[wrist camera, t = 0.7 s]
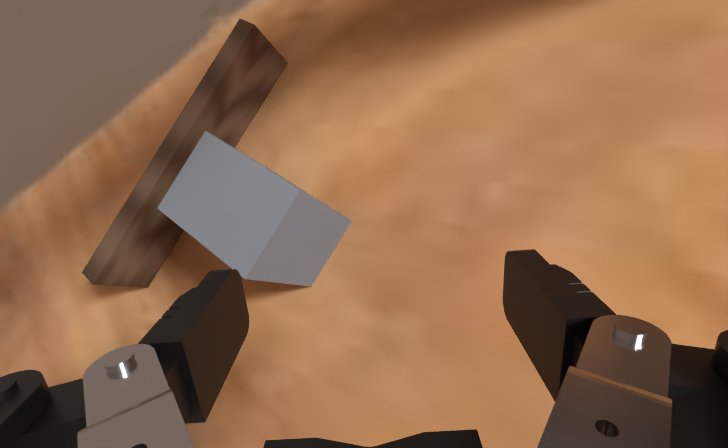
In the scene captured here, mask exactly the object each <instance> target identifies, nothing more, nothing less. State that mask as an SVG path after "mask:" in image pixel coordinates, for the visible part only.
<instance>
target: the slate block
mask: <svg viewBox="0 0 728 448" xmlns="http://www.w3.org/2000/svg"><path fill="white" fill-rule="evenodd" d="M157 209H159V210H160V211H161V212H162V213H164V214H165V215H166V216H167V217H169V218H170V219H171V220H172V221H174V222H175V223H176V224H177V225H178V226H180V227H181V228H182V229H183V230H185V231H186V232H187V233H188V234H190V235H191V236H192V237H193V238H195V239H196V240H197V241H198V242H200V243H201V244H202V245H203V246H204V247H206V248H207V249H208V250H209V251H211V252H212V253H213V254H214V255H216V256H217V257H218V258H219V259H221V260H222V261H223V262H224V263H225V264H227V265H228V266H229V267H230V268H232V269H236V270H238V272H239V273H240V276H242V277H243V278H244V279H248V280H257V281H266V282H275V283H284V284H293V285H302V286H312V284H313V283H314V281H315V280H316V278H317V276H318V275H319V273H320V272H321V270H322V268H323V267H324V265H325V264H326V262H327V260H328V259H329V257H330V256H331V254H332V252H333V251H334V249H335V248H336V246H337V244H338V243H339V241H340V239H341V238H342V236H343V235H344V233H345V231H346V230H347V228H348V227H349V225H350V223H351V222H352V221H351V220H350V219H348V218H347V217H345V216H343V215H342V214H340V213H339V212H337V211H335V210H334V209H332V208H331V207H329V206H328V205H326V204H324V203H323V202H321V201H320V200H318V199H316V198H315V197H313V196H312V195H310V194H308V193H307V192H305V191H304V190H302V189H300V188H299V187H297V186H296V185H294V184H293V183H291V182H289V181H288V180H286V179H285V178H283V177H281V176H280V175H278V174H277V173H275V172H273V171H272V170H270V169H268V168H267V167H265V166H263V165H262V164H260V163H258V162H257V161H255V160H253V159H252V158H250V157H248V156H247V155H245V154H243V153H242V152H240V151H238V150H237V149H235V148H234V147H232V146H230V145H229V144H227V143H225V142H224V141H222V140H220V139H219V138H217V137H215V136H214V135H212V134H210V133H209V132H207V131H205V132H204V134H203V135H202V137H201V139H200V140H199V142H198V143H197V145H196V147H195V148H194V150H193V151H192V153H191V155H190V156H189V158H188V159H187V161H186V163H185V164H184V166H183V167H182V169H181V171H180V172H179V174H178V176H177V177H176V179H175V180H174V182H173V184H172V185H171V187H170V188H169V190H168V192H167V193H166V195H165V196H164V198H163V200H162V201H161V203H160V205H159V206H158V208H157Z"/></svg>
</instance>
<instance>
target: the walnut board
mask: <svg viewBox="0 0 728 448" xmlns="http://www.w3.org/2000/svg"><path fill="white" fill-rule="evenodd" d="M286 64H287V62H286V61H285V60H284V58H283V57H282V56H281V55H280V54H279V53H278V51H277V50H276V49H275V48H274V47H273V46H272V45H271V43H270V42H269V41H268V40H267V39H266V38H265V36H264V35H263V34H262V33H261V32H260V31H259V29H258V28H257V27H256V26H255V25H254V24H251V23H249V22H247V21H245V20H242V19H239V21H238V22H237V24H236V26H235V27H234V29H233V30H232V32H231V34H230V35H229V37H228V39H227V40H226V42H225V43H224V45H223V47H222V48H221V50H220V51H219V53H218V55H217V56H216V58H215V59H214V61H213V63H212V64H211V66H210V67H209V69H208V71H207V72H206V74H205V76H204V77H203V79H202V80H201V82H200V84H199V85H198V87H197V88H196V90H195V92H194V93H193V95H192V96H191V98H190V100H189V101H188V103H187V104H186V106H185V108H184V109H183V111H182V112H181V114H180V116H179V117H178V119H177V121H176V122H175V124H174V125H173V127H172V129H171V130H170V132H169V133H168V135H167V137H166V138H165V140H164V141H163V143H162V145H161V146H160V148H159V149H158V151H157V153H156V154H155V156H154V157H153V159H152V161H151V162H150V164H149V166H148V167H147V169H146V170H145V172H144V174H143V175H142V177H141V178H140V180H139V182H138V183H137V185H136V186H135V188H134V190H133V191H132V193H131V194H130V196H129V198H128V199H127V201H126V202H125V204H124V206H123V207H122V209H121V211H120V212H119V214H118V215H117V217H116V219H115V220H114V222H113V223H112V225H111V227H110V228H109V230H108V231H107V233H106V235H105V236H104V238H103V239H102V241H101V243H100V244H99V246H98V248H97V249H96V251H95V252H94V254H93V256H92V257H91V259H90V260H89V262H88V264H87V265H86V267H85V268H84V270H83V272H82V273H83V274H84V275H85V276H86V278H87V279H88V280H89V281H90V282H91V283H92V284H95V285H112V286H130V287H147V288H148V286H149V285H150V283H151V281H152V280H153V278H154V277H155V275H156V273H157V272H158V270H159V269H160V267H161V265H162V264H163V262H164V261H165V259H166V257H167V256H168V254H169V252H170V251H171V249H172V248H173V246H174V244H175V243H176V241H177V240H178V238H179V236H180V235H181V233H182V232H183V229H182V228H181V227H180V226H178V225H177V224H176V223H175V222H174V221H172V220H171V219H170V218H169V217H167V216H166V215H165V214H164V213H162V212H161V211H160V210H159V209H157V208H158V206H159V205H160V203H161V201H162V200H163V198H164V196H165V195H166V193H167V192H168V190H169V188H170V187H171V185H172V184H173V182H174V180H175V179H176V177H177V176H178V174H179V172H180V171H181V169H182V167H183V166H184V164H185V163H186V161H187V159H188V158H189V156H190V155H191V153H192V151H193V150H194V148H195V147H196V145H197V143H198V142H199V140H200V139H201V137H202V135H203V134H204V132H205V131H207V132H209V133H210V134H212V135H214V136H215V137H217V138H219V139H220V140H222V141H224V142H225V143H227V144H229V145H230V146H232V147H234V148H235V146H236V145H237V143H238V142H239V140H240V138H241V137H242V135H243V134H244V132H245V130H246V129H247V127H248V126H249V124H250V122H251V121H252V119H253V117H254V116H255V114H256V113H257V111H258V109H259V108H260V106H261V105H262V103H263V101H264V100H265V98H266V97H267V95H268V93H269V92H270V90H271V89H272V87H273V85H274V84H275V82H276V81H277V79H278V77H279V76H280V74H281V72H282V71H283V69H284V68H285V66H286Z"/></svg>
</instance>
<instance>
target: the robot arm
mask: <svg viewBox="0 0 728 448" xmlns="http://www.w3.org/2000/svg"><path fill="white" fill-rule="evenodd" d="M503 306H504V312H505V315H506V318H507V320H508V322H509V323H510V325H511V327H512V329H513V330H514V332H515V334H516V335H517V337H518V339H519V341H520V342H521V344H522V346H523V347H524V349H525V351H526V353H527V354H528V356H529V358H530V359H531V361H532V363H533V365H534V366H535V368H536V370H537V371H538V373H539V375H540V377H541V378H542V380H543V382H544V383H545V385H546V387H547V389H548V390H549V392H550V394H551V395H552V397H553V399H554V401H555V404H554V406H553V409H552V411H551V414H550V417H549V419H548V422H547V424H546V427H545V429H544V432H543V434H542V437H541V439H540V442H539V444H538V447H537V448H728V330H726V331H724V332H722V333H720V334H719V336H718V339H717V343H716V346H715V350H714V349H707V348H699V347H691V346H684V345H677V344H671V340H670V338H669V337H668V336H667V334H666V333H665V332H663V331H662V330H661V329H659V328H658V327H656V326H655V325H653V324H651V323H648V322H646V321H643V320H641V319H637V318H634V317H629V316H623V315H616V314H615V313H614V312H613V311H612V310H611V309H610V308H609V307H608V306H607V305H606V304H605V303H604V302H602V301H601V300H600V299H599V298H598V297H597V296H596V295H595V294H594V293H593V292H590V289H589V288H588V287H587V286H585V285H584V284H582V282H581V281H580V280H579V279H578V278H577V277H576V276H575V275H574V274H573V273H572V272H570V271H568V270H566V269H564V268H562V267H559V266H557V265H555V264H553V265H550V264H549V263H548V262H547V261H546V260H545V259H544V258H543V257H542V256H541V255H540V254H539V253H538V252H537V251H536V250H534V249H533V250H518V251H508V252H507V253H506V256H505V265H504V286H503ZM248 328H249V314H248V309H247V304H246V300H245V295H244V290H243V285H242V281H241V276H240V273H239V272H238V270H236V269H231V270H216V271H210V272H209V273H208V274H207V275H206V277H205V278H204V279H203V280H202V281H201V283H200V284H199V285H198V286H197V287H196V288H192V289H191V290H189V291H188V292H186V293H185V294H183V295H182V296H180V297H179V298H178V299H177V300H176V301H175V302H174V303H173V304H172V305H171V307H170V308H169V310H167V311H166V312H165V313H164V315H163V316H162V319H159V320H158V321H157V323H156V324H155V325H154V326H153V327H152V328H151V329H150V331H149V332H148V333H147V334H146V335H145V336H144V337H143V339H142V340H141V341H140V342H139V343H138V344H134V345H128V346H124V347H121V348H118V349H116V350H113V351H111V352H109V353H107V354H105V355H103V356H102V357H100V358H99V359H97V360H96V361H95V362H93V363H92V364H91V365H90V366H89V367H88V368H87V370H86V371H85V373H84V375H83V379H79V380H75V381H71V382H68V383H64V384H60V385H56V386H52V387H48V386H47V384H46V381H45V379H44V377H43V375H42V373H41V372H39V371H36V370H25V371H19V372H15V373H11V374H8V375H5V376H3V377H0V448H194V446H193V444H192V441H191V438H190V436H189V433H188V431H187V428H186V426H185V424H186V423H201V422H205V421H206V419H207V417H208V415H209V413H210V411H211V409H212V407H213V405H214V403H215V400H216V398H217V396H218V394H219V392H220V390H221V388H222V386H223V384H224V382H225V380H226V378H227V375H228V373H229V371H230V369H231V367H232V365H233V363H234V361H235V359H236V357H237V355H238V352H239V350H240V348H241V346H242V344H243V342H244V340H245V338H246V336H247V333H248ZM264 448H483V447H482V444H481V441H480V438H479V435H478V431H477V430H458V431H439V432H423V433H420V434H416V435H413V436H409V437H406V438H403V439H399V440H396V441H392V442H389V443H385V444H382V445H378V446H374V447H363V446H358V445H353V444H347V443H342V442H337V441H331V440H326V439H320V438H303V439H284V440H266V441H265V444H264Z"/></svg>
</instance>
